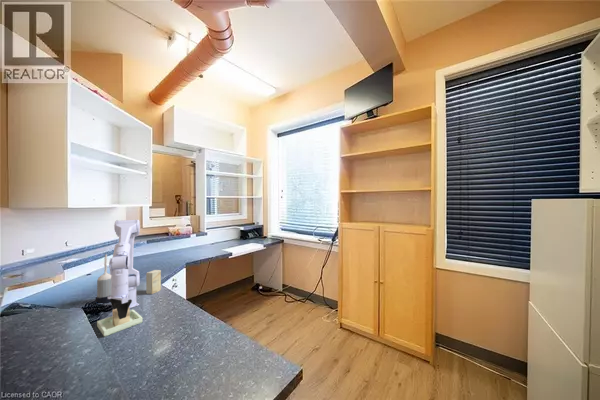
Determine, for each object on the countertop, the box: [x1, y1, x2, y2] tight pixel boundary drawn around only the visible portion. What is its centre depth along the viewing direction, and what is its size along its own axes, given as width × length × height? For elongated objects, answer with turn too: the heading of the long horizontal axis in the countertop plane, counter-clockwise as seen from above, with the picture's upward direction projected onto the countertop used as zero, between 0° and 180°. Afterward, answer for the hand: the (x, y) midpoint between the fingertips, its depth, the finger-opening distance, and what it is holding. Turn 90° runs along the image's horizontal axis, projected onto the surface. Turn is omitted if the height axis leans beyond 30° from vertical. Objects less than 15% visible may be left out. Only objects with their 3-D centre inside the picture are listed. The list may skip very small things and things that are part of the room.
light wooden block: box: [145, 269, 162, 295], centre depth 127 cm, size 6×4×12 cm
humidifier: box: [94, 254, 111, 304], centre depth 116 cm, size 8×8×25 cm
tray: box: [96, 309, 144, 338], centre depth 93 cm, size 13×13×2 cm
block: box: [112, 308, 131, 327], centre depth 93 cm, size 4×5×6 cm
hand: (120, 315), depth 93 cm, fingers open, 7 cm apart
